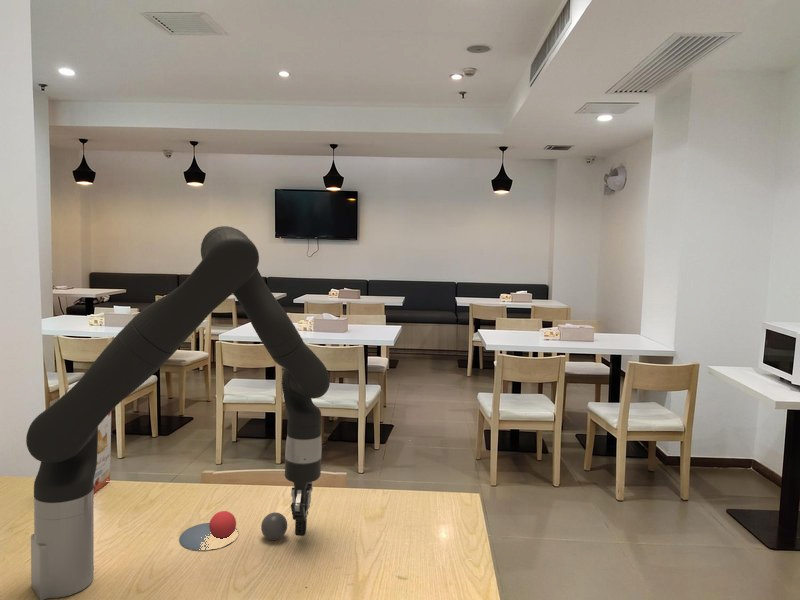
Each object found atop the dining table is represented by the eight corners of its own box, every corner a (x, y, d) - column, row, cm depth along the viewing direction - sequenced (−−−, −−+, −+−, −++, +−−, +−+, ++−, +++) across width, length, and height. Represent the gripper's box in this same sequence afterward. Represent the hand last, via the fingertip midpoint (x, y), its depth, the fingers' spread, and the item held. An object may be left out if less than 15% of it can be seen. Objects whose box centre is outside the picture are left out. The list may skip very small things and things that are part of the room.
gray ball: (273, 521, 121) (264, 546, 121) (295, 520, 124) (287, 544, 125) (261, 507, 125) (253, 531, 125) (283, 507, 129) (275, 530, 129)
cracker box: (81, 506, 136) (81, 418, 134) (55, 504, 136) (55, 416, 134) (112, 481, 150) (112, 402, 148) (89, 480, 150) (89, 400, 148)
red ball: (228, 528, 120) (205, 538, 121) (242, 535, 125) (219, 545, 125) (226, 503, 124) (203, 513, 124) (239, 511, 128) (217, 521, 128)
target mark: (195, 557, 116) (195, 556, 116) (169, 534, 124) (169, 533, 124) (248, 538, 125) (248, 537, 125) (221, 518, 133) (221, 517, 133)
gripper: (316, 468, 116) (313, 551, 118) (325, 445, 130) (322, 520, 131) (279, 466, 116) (276, 549, 118) (291, 443, 129) (288, 518, 131)
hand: (300, 533), depth 125 cm, fingers closed
